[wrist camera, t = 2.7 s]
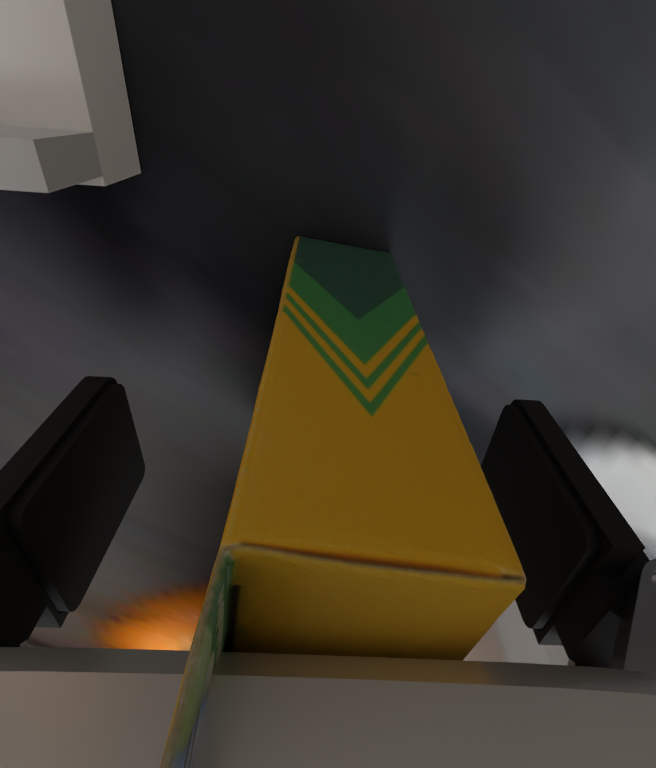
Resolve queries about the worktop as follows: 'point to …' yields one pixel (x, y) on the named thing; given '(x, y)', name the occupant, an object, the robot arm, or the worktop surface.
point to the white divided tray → (62, 97)
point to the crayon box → (350, 494)
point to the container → (515, 643)
